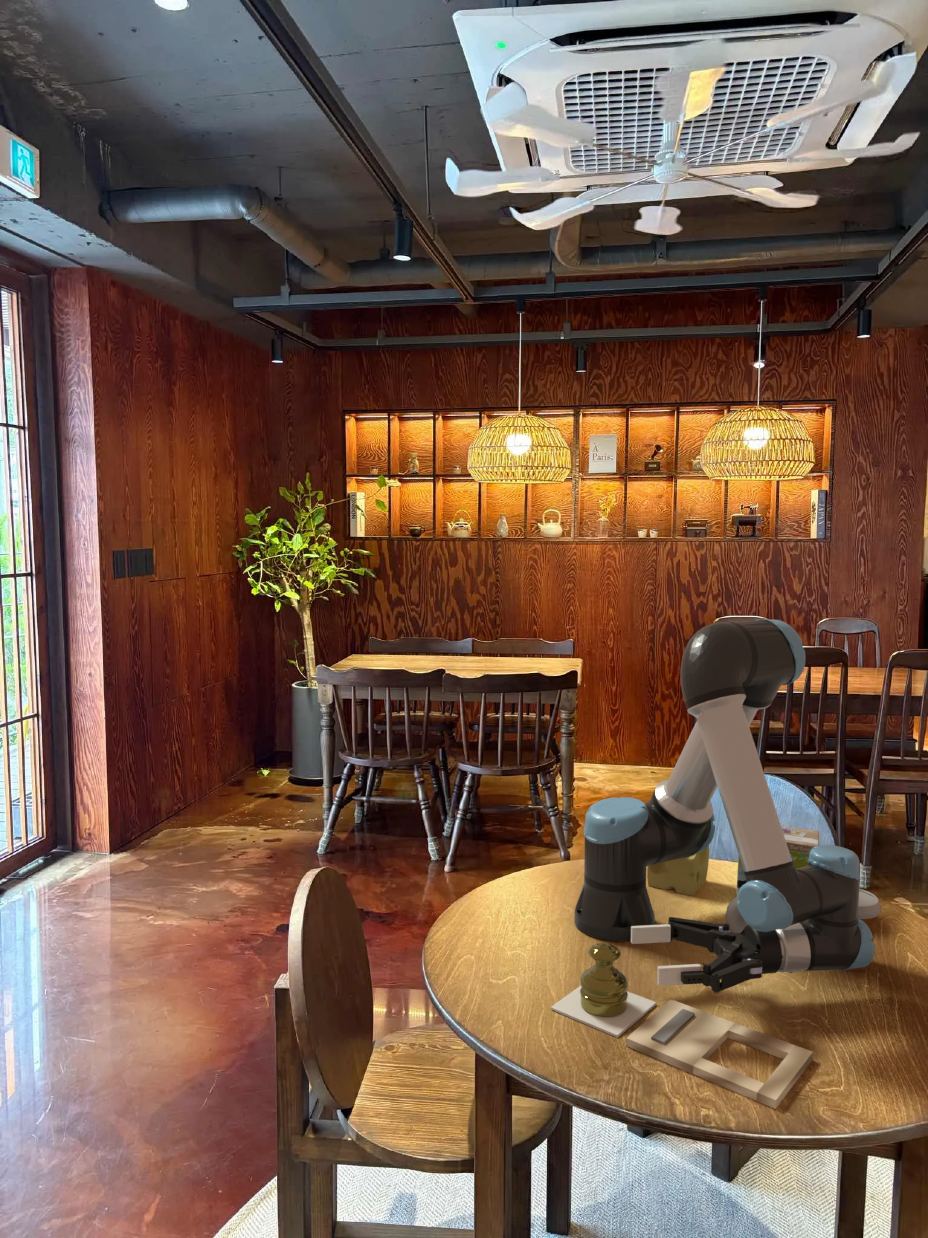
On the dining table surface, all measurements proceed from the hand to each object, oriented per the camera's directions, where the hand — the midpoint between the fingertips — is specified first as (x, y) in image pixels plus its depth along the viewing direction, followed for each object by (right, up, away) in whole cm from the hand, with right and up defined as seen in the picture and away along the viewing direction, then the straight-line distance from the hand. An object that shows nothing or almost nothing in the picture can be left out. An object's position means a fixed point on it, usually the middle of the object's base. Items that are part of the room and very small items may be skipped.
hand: (643, 954), depth 138 cm
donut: (+24, -7, +21) cm, 32 cm away
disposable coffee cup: (+39, -7, +15) cm, 42 cm away
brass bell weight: (-6, -8, 0) cm, 10 cm away
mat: (-6, -8, 0) cm, 11 cm away
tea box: (+35, -5, +40) cm, 53 cm away
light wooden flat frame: (+8, -10, -12) cm, 17 cm away
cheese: (+17, -4, +50) cm, 53 cm away
